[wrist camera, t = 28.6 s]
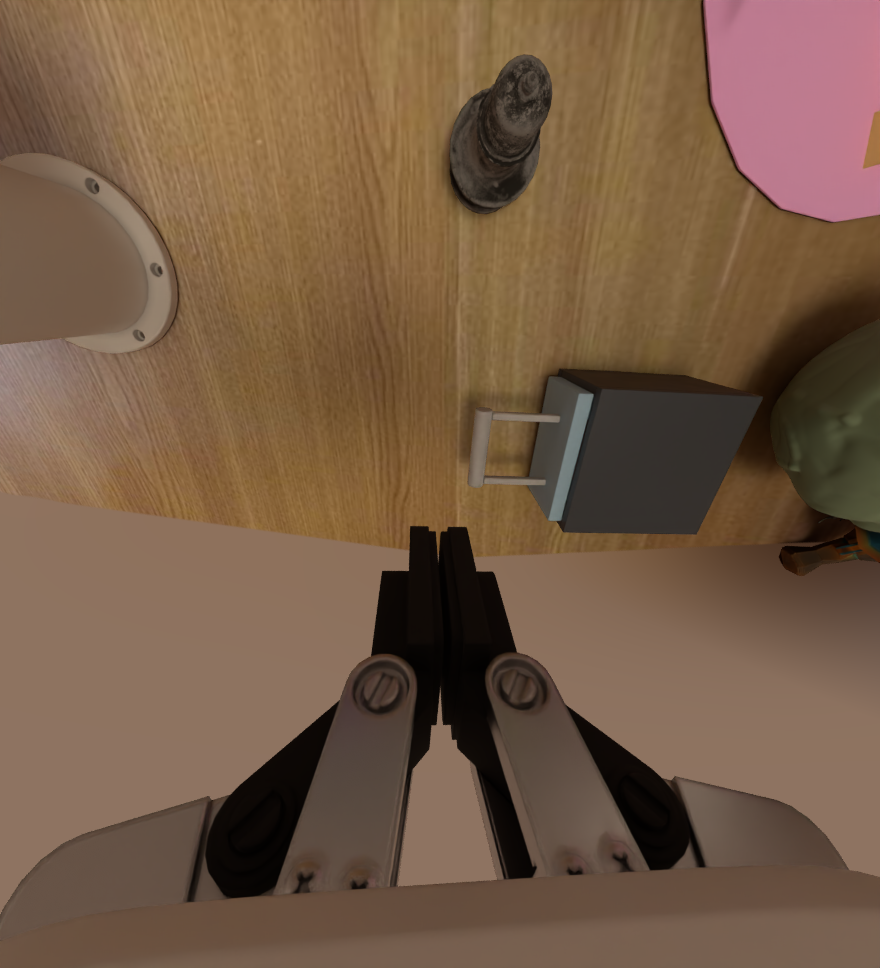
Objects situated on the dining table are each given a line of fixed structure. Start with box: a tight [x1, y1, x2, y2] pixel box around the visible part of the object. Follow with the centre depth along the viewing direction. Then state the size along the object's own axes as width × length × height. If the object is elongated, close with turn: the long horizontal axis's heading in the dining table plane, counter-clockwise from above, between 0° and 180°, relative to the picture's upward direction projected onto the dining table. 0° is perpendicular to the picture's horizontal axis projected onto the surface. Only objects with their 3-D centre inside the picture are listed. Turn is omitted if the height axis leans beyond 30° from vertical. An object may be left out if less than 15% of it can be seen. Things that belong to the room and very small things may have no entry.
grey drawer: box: [468, 376, 595, 521], centre depth 32 cm, size 19×11×7 cm, turn 87°
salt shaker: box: [450, 55, 552, 214], centre depth 20 cm, size 6×6×12 cm
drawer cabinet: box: [557, 369, 763, 534], centre depth 32 cm, size 13×13×9 cm
